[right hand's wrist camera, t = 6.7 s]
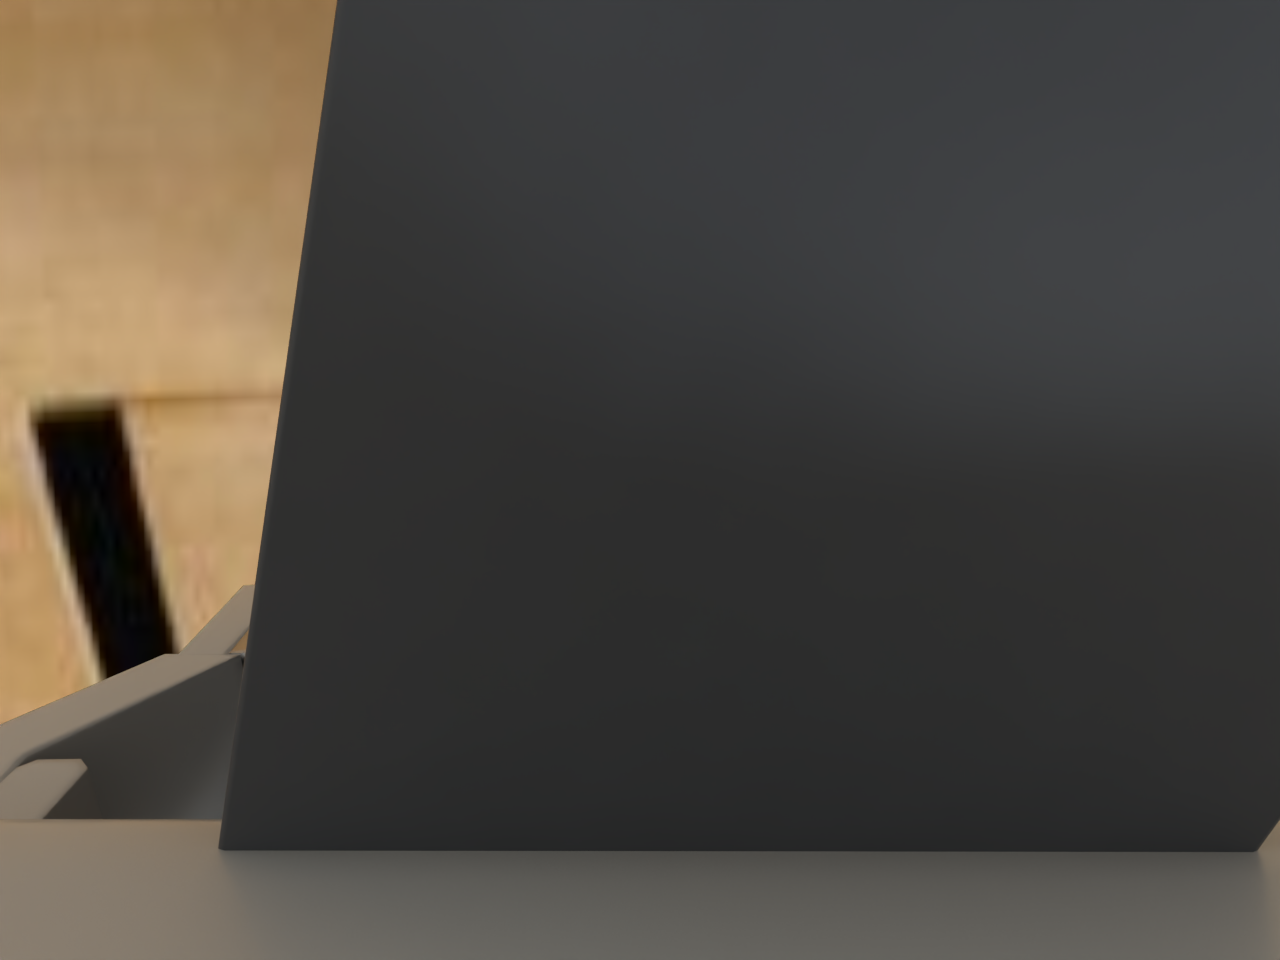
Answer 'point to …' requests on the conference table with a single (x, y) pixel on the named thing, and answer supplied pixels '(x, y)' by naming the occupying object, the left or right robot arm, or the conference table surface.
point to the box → (778, 433)
